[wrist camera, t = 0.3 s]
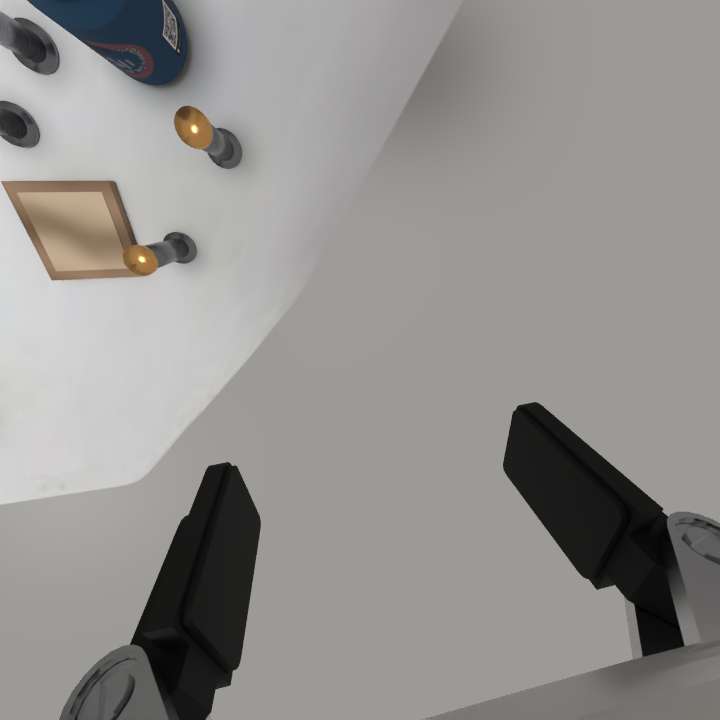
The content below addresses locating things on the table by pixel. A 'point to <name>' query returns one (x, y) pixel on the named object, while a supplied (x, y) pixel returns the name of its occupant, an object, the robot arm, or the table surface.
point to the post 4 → (207, 137)
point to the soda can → (126, 33)
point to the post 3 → (159, 254)
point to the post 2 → (17, 125)
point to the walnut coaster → (75, 226)
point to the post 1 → (29, 44)
